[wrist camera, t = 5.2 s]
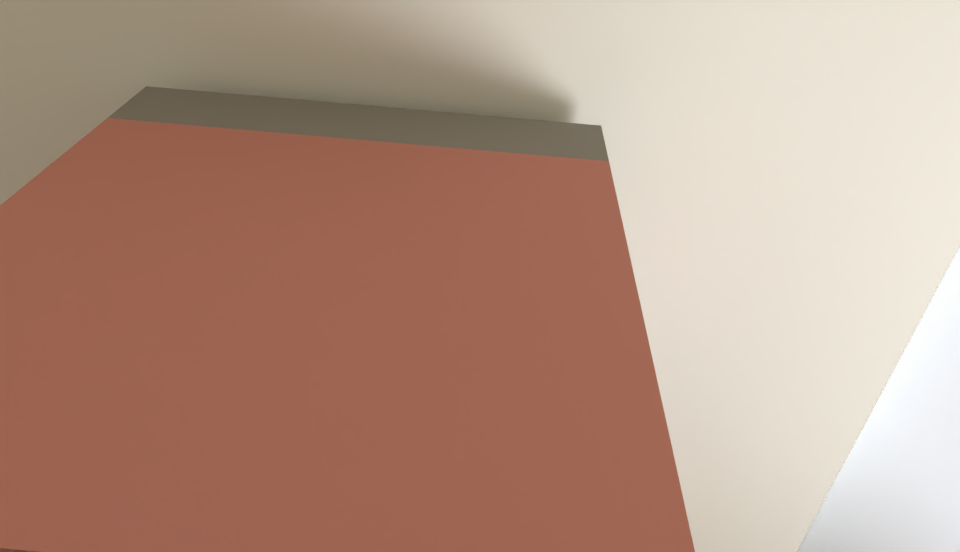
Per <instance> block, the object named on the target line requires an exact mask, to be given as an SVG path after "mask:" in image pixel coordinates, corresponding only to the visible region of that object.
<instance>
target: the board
mask: <svg viewBox="0 0 960 552" xmlns="http://www.w3.org/2000/svg"><path fill="white" fill-rule="evenodd" d="M146 86H149V87H160V88H172V89H183V90H195V91H207V92H218V93H230V94H241V95H253V96H265V97H276V98H288V99H299V100H311V101H323V102H334V103H346V104H357V105H369V106H381V107H392V108H404V109H416V110H427V111H439V112H450V113H462V114H474V115H485V116H497V117H508V118H520V119H532V120H543V121H555V122H566V123H578V124H590V125H601V127H602V132H603V137H604V141H605V146H606V150H607V155H608V159H609V164H610V168H611V173H612V177H613V182H614V186H615V191H616V196H617V200H618V205H619V209H620V214H621V218H622V223H623V227H624V232H625V236H626V241H627V245H628V250H629V255H630V259H631V264H632V268H633V273H634V277H635V282H636V286H637V291H638V295H639V300H640V304H641V309H642V314H643V318H644V323H645V327H646V332H647V336H648V341H649V345H650V350H651V354H652V359H653V363H654V368H655V373H656V377H657V382H658V386H659V391H660V395H661V400H662V404H663V409H664V413H665V418H666V422H667V427H668V432H669V436H670V441H671V445H672V450H673V454H674V459H675V463H676V468H677V472H678V477H679V481H680V486H681V491H682V495H683V500H684V504H685V509H686V513H687V518H688V522H689V527H690V531H691V536H692V540H693V545H694V550H695V552H797V551H798V549H799V547H800V545H801V544H802V542H803V540H804V538H805V536H806V534H807V532H808V530H809V529H810V527H811V525H812V523H813V521H814V519H815V517H816V515H817V513H818V512H819V510H820V508H821V506H822V504H823V502H824V500H825V498H826V497H827V495H828V493H829V491H830V489H831V487H832V485H833V483H834V482H835V480H836V478H837V476H838V474H839V472H840V470H841V468H842V467H843V465H844V463H845V461H846V459H847V457H848V455H849V453H850V452H851V450H852V448H853V446H854V444H855V442H856V440H857V438H858V437H859V435H860V433H861V431H862V429H863V427H864V425H865V423H866V421H867V420H868V418H869V416H870V414H871V412H872V410H873V408H874V406H875V405H876V403H877V401H878V399H879V397H880V395H881V393H882V391H883V390H884V388H885V386H886V384H887V382H888V380H889V378H890V376H891V375H892V373H893V371H894V369H895V367H896V365H897V363H898V361H899V360H900V358H901V356H902V354H903V352H904V350H905V348H906V346H907V345H908V343H909V341H910V339H911V337H912V335H913V333H914V331H915V329H916V328H917V326H918V324H919V322H920V320H921V318H922V316H923V314H924V313H925V311H926V309H927V307H928V305H929V303H930V301H931V299H932V298H933V296H934V294H935V292H936V290H937V288H938V286H939V284H940V283H941V281H942V279H943V277H944V275H945V273H946V271H947V269H948V268H949V266H950V264H951V262H952V260H953V258H954V256H955V254H956V252H957V251H958V249H959V247H960V0H0V205H1V204H2V203H4V202H5V201H6V200H7V199H8V198H10V197H11V196H12V195H13V194H15V193H16V192H17V191H18V190H20V189H21V188H22V187H23V186H24V185H26V184H27V183H28V182H29V181H31V180H32V179H33V178H34V177H35V176H37V175H38V174H39V173H40V172H42V171H43V170H44V169H45V168H47V167H48V166H49V165H50V164H51V163H53V162H54V161H55V160H56V159H58V158H59V157H60V156H61V155H62V154H64V153H65V152H66V151H67V150H69V149H70V148H71V147H72V146H74V145H75V144H76V143H77V142H78V141H80V140H81V139H82V138H83V137H85V136H86V135H87V134H88V133H89V132H91V131H92V130H93V129H94V128H96V127H97V126H98V125H99V124H101V123H102V122H103V121H104V120H105V119H107V118H108V117H109V116H110V115H112V114H113V113H114V112H115V111H116V110H118V109H119V108H120V107H121V106H123V105H124V104H125V103H126V102H128V101H129V100H130V99H131V98H132V97H134V96H135V95H136V94H137V93H139V92H140V91H141V90H142V89H143V88H145V87H146Z"/></svg>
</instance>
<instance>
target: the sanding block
mask: <svg viewBox="0 0 960 552" xmlns="http://www.w3.org/2000/svg"><path fill="white" fill-rule="evenodd" d="M0 552H695V550H694V545H693V540H692V536H691V531H690V527H689V522H688V518H687V513H686V509H685V504H684V500H683V495H682V491H681V486H680V481H679V477H678V472H677V468H676V463H675V459H674V454H673V450H672V445H671V441H670V436H669V432H668V427H667V422H666V418H665V413H664V409H663V404H662V400H661V395H660V391H659V386H658V382H657V377H656V373H655V368H654V363H653V359H652V354H651V350H650V345H649V341H648V336H647V332H646V327H645V323H644V318H643V314H642V309H641V304H640V300H639V295H638V291H637V286H636V282H635V277H634V273H633V268H632V264H631V259H630V255H629V250H628V245H627V241H626V236H625V232H624V227H623V223H622V218H621V214H620V209H619V205H618V200H617V196H616V191H615V186H614V182H613V177H612V173H611V168H610V164H609V159H608V155H607V150H606V146H605V141H604V137H603V132H602V127H601V125H590V124H578V123H566V122H555V121H543V120H532V119H520V118H508V117H497V116H485V115H474V114H462V113H450V112H439V111H427V110H416V109H404V108H392V107H381V106H369V105H357V104H346V103H334V102H323V101H311V100H299V99H288V98H276V97H265V96H253V95H241V94H230V93H218V92H207V91H195V90H183V89H172V88H160V87H149V86H146V87H145V88H143V89H142V90H141V91H140V92H139V93H137V94H136V95H135V96H134V97H132V98H131V99H130V100H129V101H128V102H126V103H125V104H124V105H123V106H121V107H120V108H119V109H118V110H116V111H115V112H114V113H113V114H112V115H110V116H109V117H108V118H107V119H105V120H104V121H103V122H102V123H101V124H99V125H98V126H97V127H96V128H94V129H93V130H92V131H91V132H89V133H88V134H87V135H86V136H85V137H83V138H82V139H81V140H80V141H78V142H77V143H76V144H75V145H74V146H72V147H71V148H70V149H69V150H67V151H66V152H65V153H64V154H62V155H61V156H60V157H59V158H58V159H56V160H55V161H54V162H53V163H51V164H50V165H49V166H48V167H47V168H45V169H44V170H43V171H42V172H40V173H39V174H38V175H37V176H35V177H34V178H33V179H32V180H31V181H29V182H28V183H27V184H26V185H24V186H23V187H22V188H21V189H20V190H18V191H17V192H16V193H15V194H13V195H12V196H11V197H10V198H8V199H7V200H6V201H5V202H4V203H2V204H1V205H0Z"/></svg>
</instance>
